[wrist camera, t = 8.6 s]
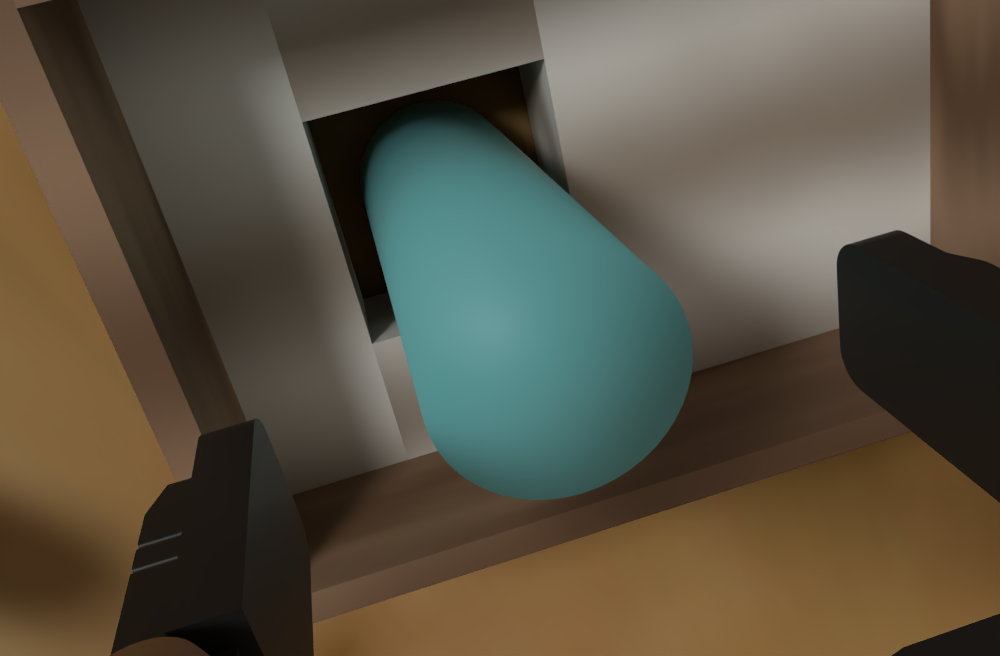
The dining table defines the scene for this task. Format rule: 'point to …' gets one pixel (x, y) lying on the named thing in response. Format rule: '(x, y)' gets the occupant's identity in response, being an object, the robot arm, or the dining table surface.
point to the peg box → (563, 157)
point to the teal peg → (518, 310)
